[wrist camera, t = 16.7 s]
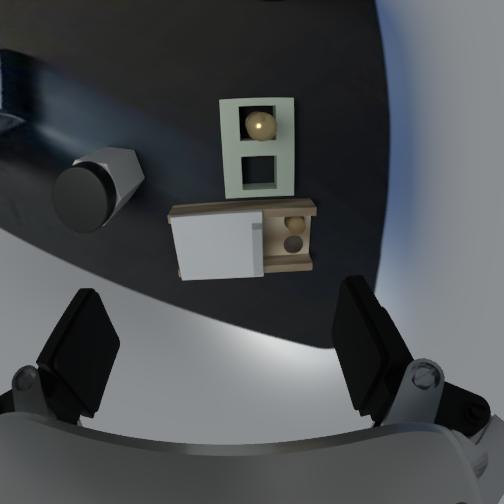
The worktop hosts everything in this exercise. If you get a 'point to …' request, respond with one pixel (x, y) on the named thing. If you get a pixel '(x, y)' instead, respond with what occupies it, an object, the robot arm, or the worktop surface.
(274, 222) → the tray
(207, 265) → the cover
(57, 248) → the worktop surface
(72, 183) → the jar
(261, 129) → the pin
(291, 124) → the board
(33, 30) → the worktop surface
